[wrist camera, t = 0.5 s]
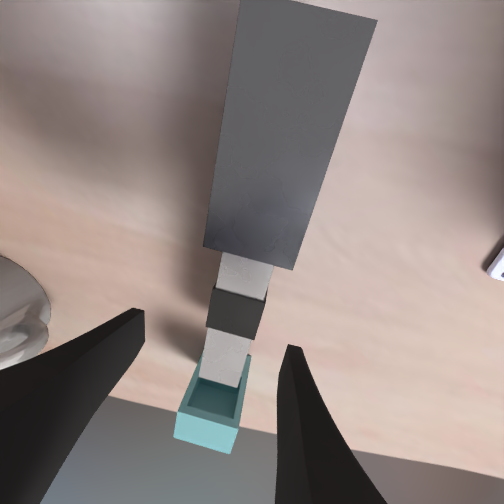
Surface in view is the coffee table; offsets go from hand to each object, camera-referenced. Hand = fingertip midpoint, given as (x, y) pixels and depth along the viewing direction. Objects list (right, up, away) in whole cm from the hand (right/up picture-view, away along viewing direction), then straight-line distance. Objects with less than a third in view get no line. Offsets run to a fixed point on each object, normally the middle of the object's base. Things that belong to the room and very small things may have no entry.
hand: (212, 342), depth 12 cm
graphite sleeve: (+4, +11, +5) cm, 13 cm away
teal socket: (-1, -7, +13) cm, 15 cm away
